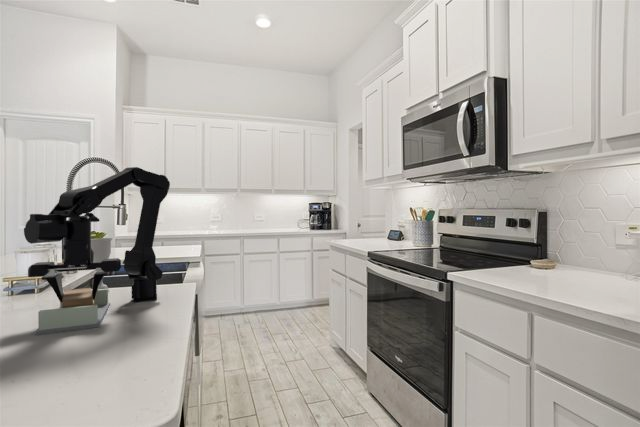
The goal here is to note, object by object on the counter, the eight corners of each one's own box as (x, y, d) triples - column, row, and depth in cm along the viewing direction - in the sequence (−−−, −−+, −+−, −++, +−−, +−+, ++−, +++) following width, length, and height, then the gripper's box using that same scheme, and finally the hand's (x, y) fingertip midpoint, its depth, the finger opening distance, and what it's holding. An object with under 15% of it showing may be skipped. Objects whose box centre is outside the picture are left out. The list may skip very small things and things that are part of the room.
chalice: (96, 289, 117) (96, 238, 117) (116, 289, 118) (116, 238, 118) (83, 294, 110) (83, 240, 110) (105, 294, 111) (105, 239, 110)
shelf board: (93, 310, 83) (92, 298, 83) (62, 314, 79) (62, 302, 79) (91, 298, 94) (91, 287, 94) (64, 301, 90) (64, 290, 90)
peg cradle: (110, 305, 98) (110, 288, 98) (99, 326, 80) (99, 305, 80) (59, 310, 93) (59, 292, 93) (35, 334, 75) (35, 312, 75)
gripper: (122, 236, 98) (122, 290, 98) (41, 238, 90) (42, 297, 90) (118, 239, 88) (118, 299, 88) (26, 242, 79) (27, 308, 80)
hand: (78, 300), depth 86 cm, fingers closed on shelf board, 6 cm apart
